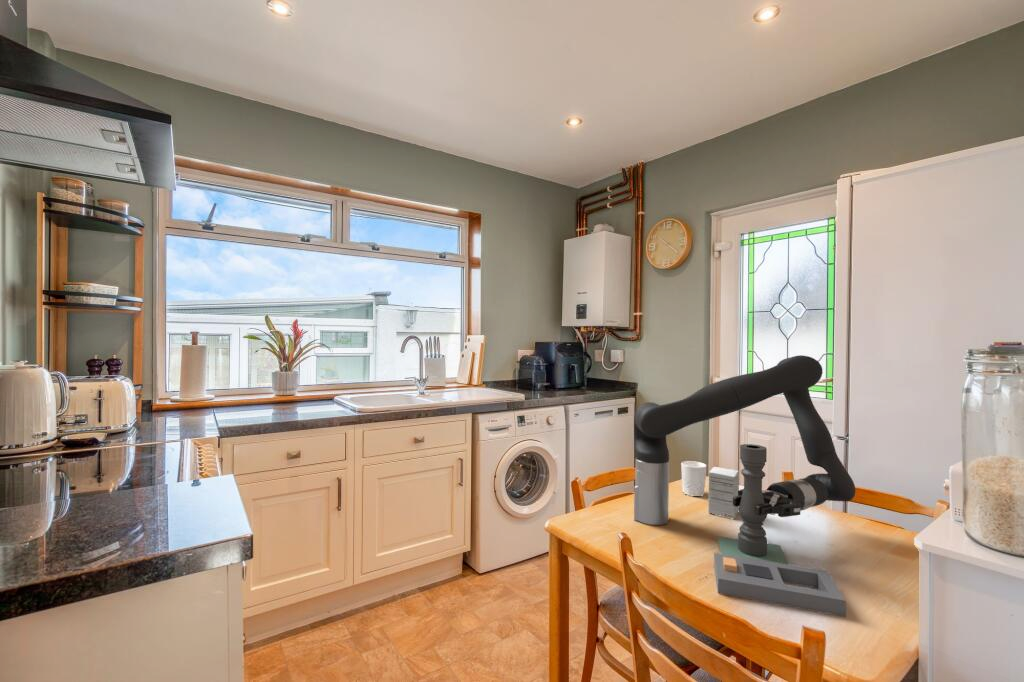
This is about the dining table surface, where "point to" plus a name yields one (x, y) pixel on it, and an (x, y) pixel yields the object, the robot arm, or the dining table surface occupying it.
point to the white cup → (693, 477)
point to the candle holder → (752, 501)
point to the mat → (731, 548)
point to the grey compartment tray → (778, 584)
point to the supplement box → (723, 491)
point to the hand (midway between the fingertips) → (745, 506)
